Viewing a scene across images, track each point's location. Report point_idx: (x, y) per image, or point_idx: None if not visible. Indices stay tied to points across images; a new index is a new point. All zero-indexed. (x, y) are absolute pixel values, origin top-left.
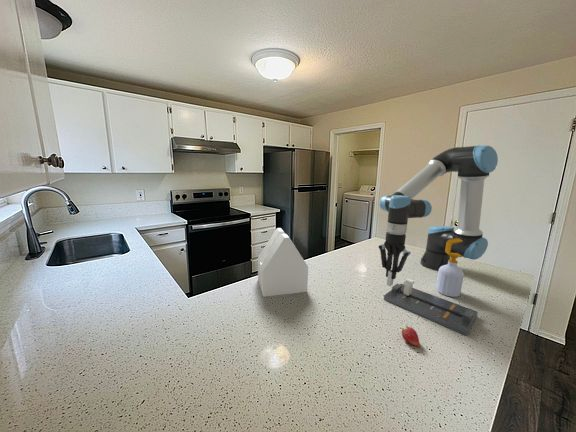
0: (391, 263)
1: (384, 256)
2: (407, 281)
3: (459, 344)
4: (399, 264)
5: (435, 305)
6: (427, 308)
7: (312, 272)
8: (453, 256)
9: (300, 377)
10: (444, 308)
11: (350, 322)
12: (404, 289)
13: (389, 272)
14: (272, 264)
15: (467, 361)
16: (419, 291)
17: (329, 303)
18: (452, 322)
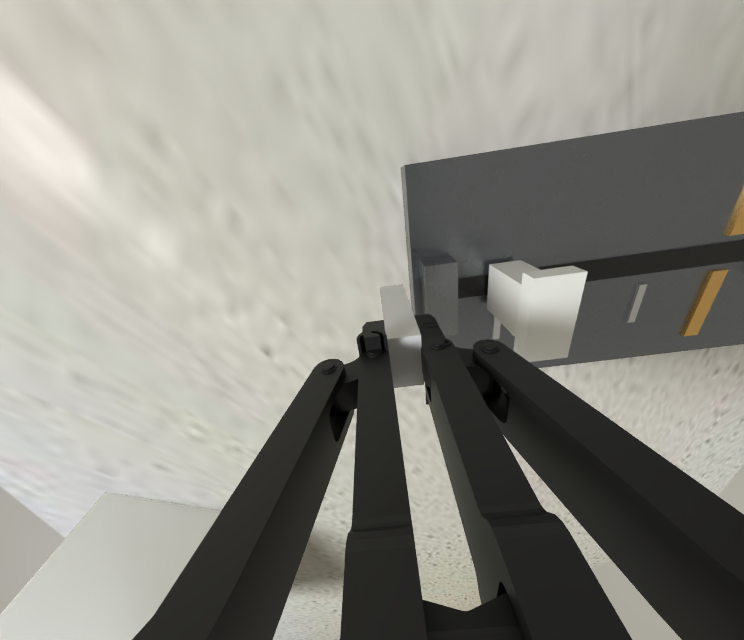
0: (394, 397)
1: (305, 513)
2: (541, 330)
3: (702, 386)
4: (536, 463)
5: (656, 265)
6: (615, 322)
7: (71, 437)
8: None
9: (455, 598)
10: (703, 253)
11: (423, 511)
12: (502, 320)
13: (404, 381)
14: None
15: (709, 427)
16: (549, 165)
17: (326, 503)
18: (719, 335)
